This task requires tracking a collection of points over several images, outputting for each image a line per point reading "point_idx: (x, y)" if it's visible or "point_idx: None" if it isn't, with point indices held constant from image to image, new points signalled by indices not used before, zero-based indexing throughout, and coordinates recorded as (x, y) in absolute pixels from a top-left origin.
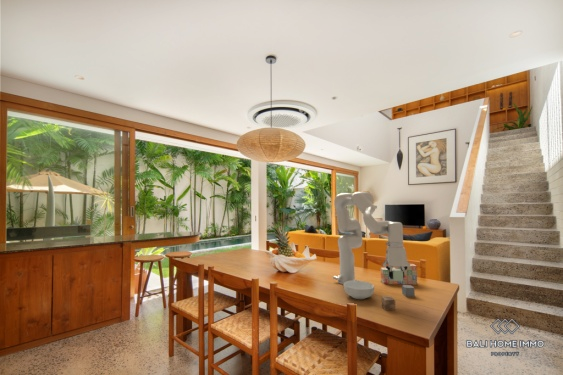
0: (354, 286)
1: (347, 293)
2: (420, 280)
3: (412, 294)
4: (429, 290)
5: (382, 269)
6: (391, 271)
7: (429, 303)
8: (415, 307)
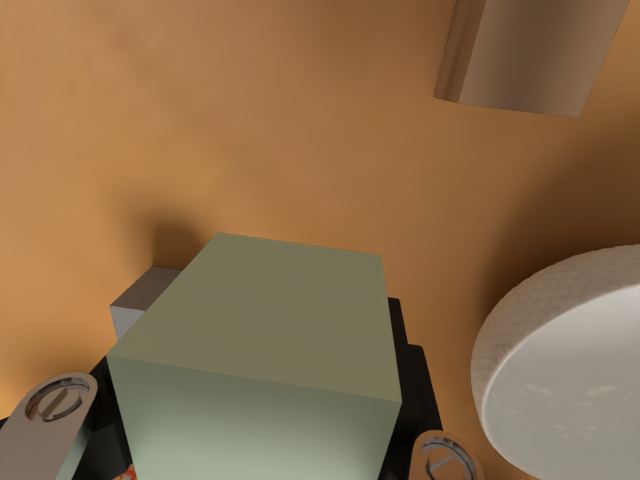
0: (565, 433)
1: None
2: None
3: (159, 276)
4: (26, 342)
5: None
6: (407, 440)
7: (85, 125)
8: (233, 44)
